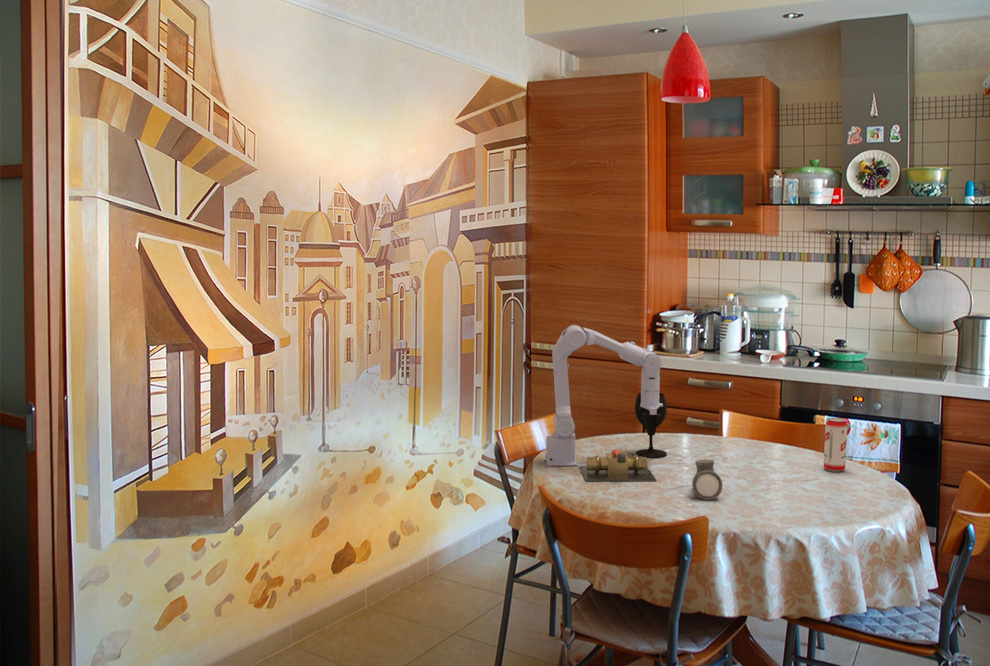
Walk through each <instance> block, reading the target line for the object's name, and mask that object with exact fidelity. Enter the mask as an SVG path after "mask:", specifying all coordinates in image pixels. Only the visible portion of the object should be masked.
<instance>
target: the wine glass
mask: <svg viewBox="0 0 990 666" xmlns="http://www.w3.org/2000/svg"><path fill="white" fill-rule="evenodd" d="M640 403H641V392H640V393H637V395H636V398H635V402H634V412H635V417H636V420H637V421H638V422H639V423H640V424H641V425H642V426H643V419H642V415H641V412H640V410H639V407H641V406H640ZM659 403H662V404H663V407H659V408H658V409H657V414H661V417H660V419H659V421H658V424H657V428H659V426H661V424H662V423H664V421H665V419H666V417H667V411H668V406H667V400H666V397H665V394H664V393H661V392H659ZM653 436H654V435H648V438H649V440H648V441H649V444H648V448H643V449H639V450H635V455H638V457H646V458H649V459H651V458H653V459H654V458H662V457H666V456H667V455H668V454H667V453H668V452H667V451H665V450H664V449H663V450H662V449H655V448H654V446H653Z"/></svg>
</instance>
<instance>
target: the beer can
mask: <svg viewBox="0 0 990 666" xmlns="http://www.w3.org/2000/svg"><path fill="white" fill-rule="evenodd" d="M824 428H825V429H824V450H823V451H824V452H823V468H824V469H825V470H826V471H827V470H828V471H827V472H831V471H832V473H841V472H840V471H842V472H843V471H844V470H846V464H847V463H846V462H847V461H846V460H847V459H846V458H847V437H848V436H847V435H848V424H847V422H846V419H844V418H840V417H829V418H827V421H826V422H825V427H824Z"/></svg>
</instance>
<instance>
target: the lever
mask: <svg viewBox="0 0 990 666" xmlns="http://www.w3.org/2000/svg"><path fill="white" fill-rule="evenodd" d="M611 453H612V455H615V456H616V458H617V462H618V463H625V462H626V455H627V454H626V452H622V450H621V449H618V448H617V449H612V450H611Z"/></svg>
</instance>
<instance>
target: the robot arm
mask: <svg viewBox="0 0 990 666" xmlns="http://www.w3.org/2000/svg"><path fill="white" fill-rule="evenodd" d="M584 345H586V346H592V345H598V346H600V347H603V348H606V349H608V350H610V351H611V352H612V351H613V352H616V353H618V357H619V359H621V360H622V361H623V360H624V361H625V362H628V363H630V364H632V365H635V366H637V367H642V368H641V376H640V378H641V379H640V380H641V381H640V383H641V384H640V393H641V403H640V406H641V407H639V410H640V412H641V415H642V419H643V425H642V426H643V430H645V431H646V433H647V436H649V435H653V436H656V435H655V434H656V433H657V429H658V427H657V424H658V421H659V419H660V417H661V414H657V409H658V408H659V407H663V404H662V403H659V393H660V388H661V387H660V386H661V385H660V380H661V375H660V369H661V368H662V366H663V363H662V360H661V358H660V356H659V355H658V354H657V353H655V352H653V351H652V350H650V349H649V348H644V347H641V346H639V345H636V343H635V342H633V341H630V342H629V341H626V342H622V343H621V342H619V341H617V340H616V339H613V338H610V337H608V336H606V335H605V334H602V333H600V332H599V331H596V330H594V329H590V328H586V327H581V326H580V325H577V324H572V325H569V326H568V327H567V328H565V329H564V330H563V331H562V332H561V334H560V336H559V338H558V340H557V342H556V343H555V345H554V346H553V348H552V352H551V353H552V355H551V356H552V369H553V370H552V371H553V382H554V399H555V415H554V418H553V426H554V431H553V432H552V435H546V438H545V453H544V454H545V455H544V457H545V462H546V465H547V466H548V467H552V466H553V467H555V466H557V467H561V466H563V467H565V466H566V467H567V466H569V467H572V466H574V467H575V466H577V467H578V461H577V460H576V433H575V430H576V425H575V422H574V419H573V416H572V412H571V411H572V410H571V400H570V399H571V397H570V385H569V384H570V383H569V369H568V368H569V367H568V357H570V355H571V354H572V353H573V352H574V351H577V350H578V349H580V348H581V347H583V346H584Z"/></svg>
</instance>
